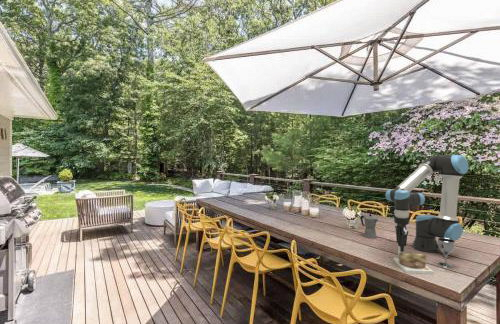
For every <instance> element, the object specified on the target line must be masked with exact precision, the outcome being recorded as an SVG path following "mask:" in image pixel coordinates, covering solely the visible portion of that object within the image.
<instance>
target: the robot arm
mask: <svg viewBox="0 0 500 324" xmlns="http://www.w3.org/2000/svg"><path fill="white" fill-rule="evenodd" d="M468 171H469V162H468V160H467V158H466V157H465V156H463V155H460V154H437V155H433V156H430V157H428V158H426V159H425V160H423V161H422V162H421V163H420V164H418V165H417V168H416V169H415V170H414V171H413V172H412V173H411V174H410V175H408V176H407V177H406V178H405V179H404V180H403V181H402V182H401V183H400V184H398V185H397V186H396V187H395V188H394V189H388V190H386V191H385V199H386V200H387V201H389V202H392V203H394V211H393V213H394V218H393V219H394V220H393V222H394V223H395V224H396V225H395V226H394V228H395V237H396V243H397V244H398V246H397V247H398V248H397V249H398V251H397V252H398V253H397V256H398V257H399V253H405V247H407V242H408V236H409V231H408V230H407V225H409V223H410V218H409V217H410V207H414V206H421V205H424V204H425V201H426V197H425V196H424V194H423V193H421V192H411V191H413V190H414V189H415V188H416V187H417V186H419V185H420V183H421V182H423V181H424V180H425V179H426V178H427V177H429V176H432V175H433V174H435V173H440V176H441V177H442V185H441V194H440V195H441V197H440V205H439V206H440V207H439V208H440V210H439V214H438V215H433V214H419V215H417V216H416V217H415V237H414V240H413V243H412V248H413V249H415V250H418V251H420V252H425V253H438V252H439V251H440V248H439V246H438V240H437V238H448V239H452V240H454V241H455V242H456V241H458V240H460V238H461V237H462V235H463V230H464V228H463V226H462V224H461V223H460V221H459V218H457V210H458V200H459V199H458V198H459V191H460V190H459V188H460V179H462V178H463V176H464V175H465V174H467V173H468Z"/></svg>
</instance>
